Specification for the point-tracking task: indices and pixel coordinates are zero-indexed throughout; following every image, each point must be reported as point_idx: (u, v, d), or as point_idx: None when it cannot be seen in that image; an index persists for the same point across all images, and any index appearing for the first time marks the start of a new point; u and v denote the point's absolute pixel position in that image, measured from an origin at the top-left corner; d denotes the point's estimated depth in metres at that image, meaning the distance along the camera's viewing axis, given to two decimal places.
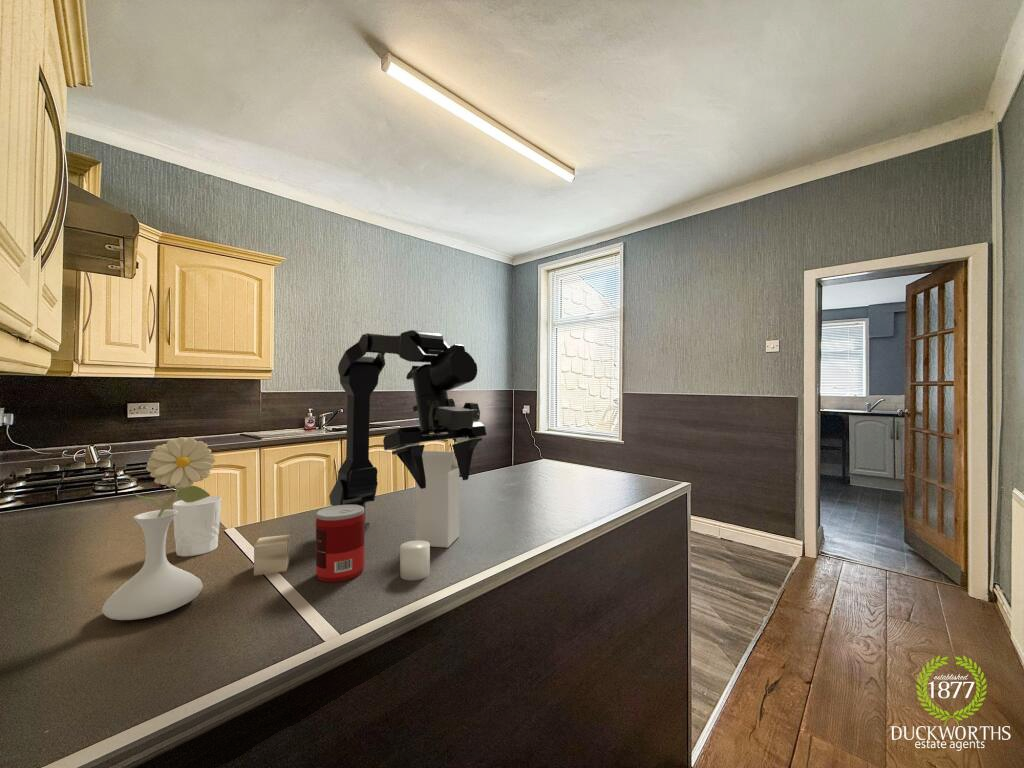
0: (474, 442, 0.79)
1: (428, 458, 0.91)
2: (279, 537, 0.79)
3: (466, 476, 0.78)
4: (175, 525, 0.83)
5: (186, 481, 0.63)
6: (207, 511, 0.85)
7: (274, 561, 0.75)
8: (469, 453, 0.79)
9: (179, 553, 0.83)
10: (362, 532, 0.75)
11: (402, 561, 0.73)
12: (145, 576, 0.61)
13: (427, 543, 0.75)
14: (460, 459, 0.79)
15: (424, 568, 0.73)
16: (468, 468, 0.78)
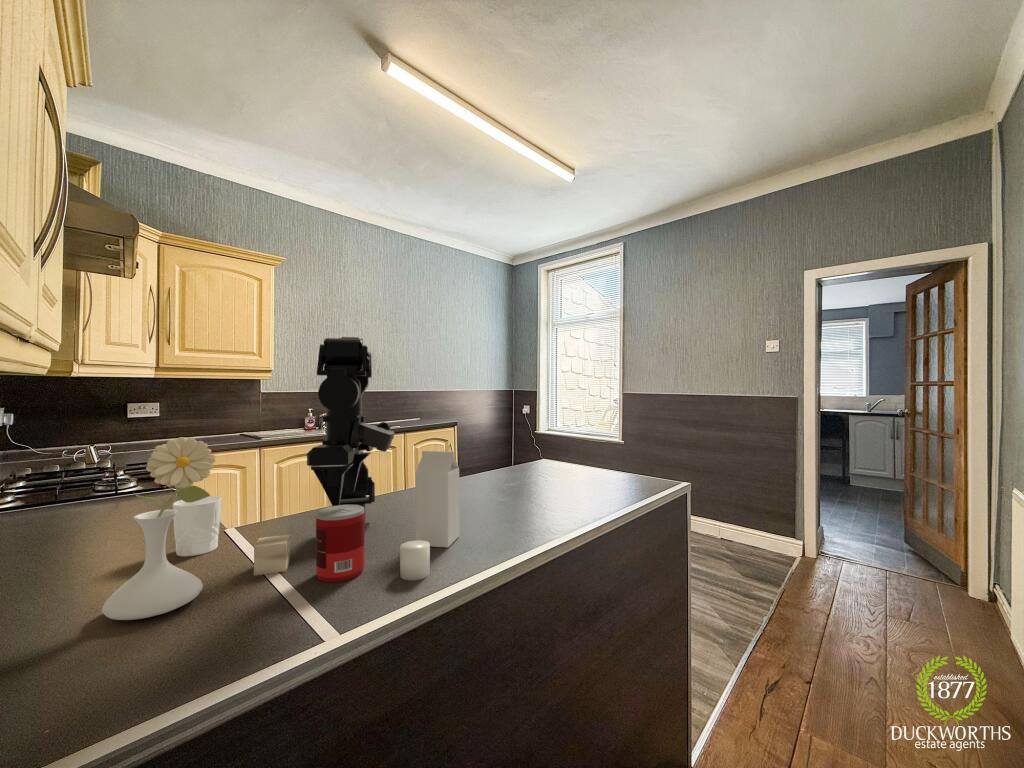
0: None
1: (428, 458, 0.91)
2: (279, 537, 0.79)
3: (353, 489, 0.80)
4: (175, 525, 0.83)
5: (186, 481, 0.63)
6: (207, 511, 0.85)
7: (274, 561, 0.75)
8: (359, 466, 0.81)
9: (179, 553, 0.83)
10: (362, 532, 0.75)
11: (402, 561, 0.73)
12: (145, 576, 0.61)
13: (427, 543, 0.75)
14: (347, 471, 0.80)
15: (424, 568, 0.73)
16: (356, 481, 0.80)
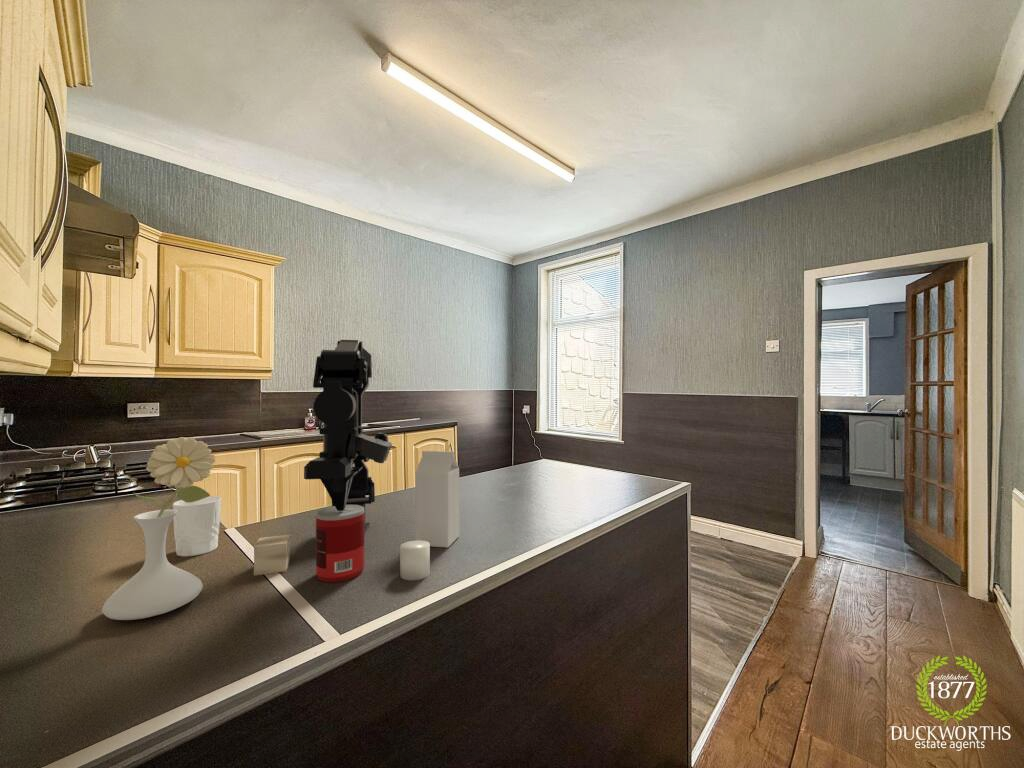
0: (358, 471, 0.77)
1: (428, 458, 0.91)
2: (279, 537, 0.79)
3: (344, 506, 0.75)
4: (175, 525, 0.83)
5: (186, 481, 0.63)
6: (207, 511, 0.85)
7: (274, 561, 0.75)
8: (350, 482, 0.76)
9: (179, 553, 0.83)
10: (362, 532, 0.75)
11: (402, 561, 0.73)
12: (145, 576, 0.61)
13: (427, 543, 0.75)
14: None
15: (424, 568, 0.73)
16: (347, 498, 0.76)
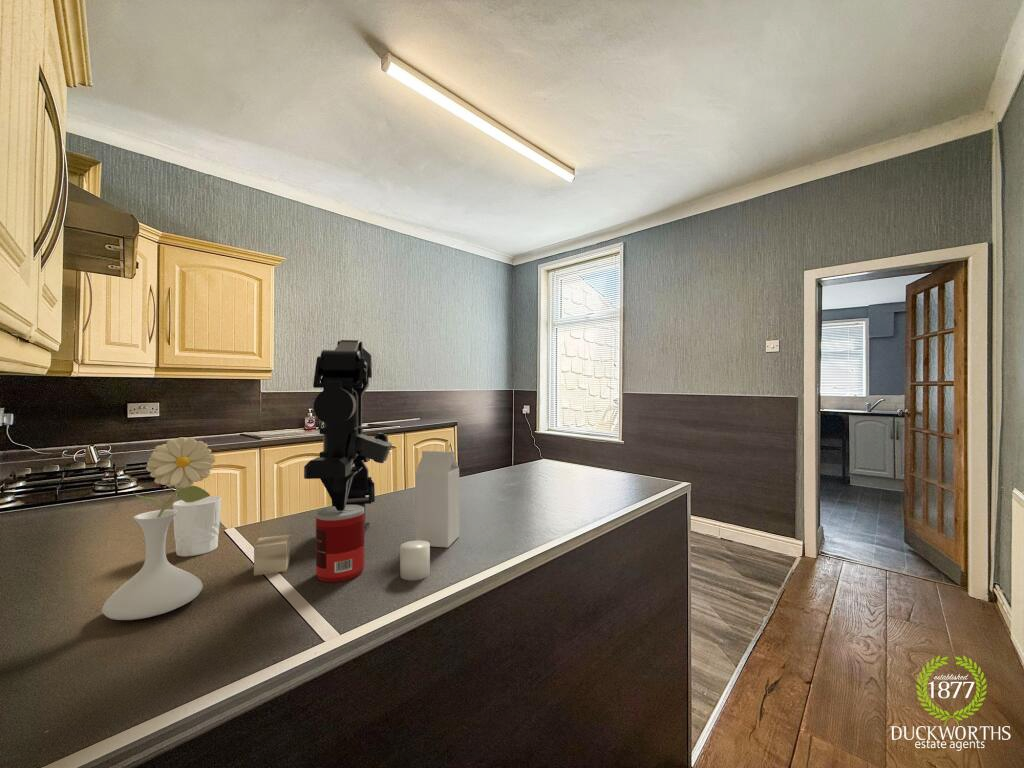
0: (358, 471, 0.77)
1: (428, 458, 0.91)
2: (279, 537, 0.79)
3: (344, 506, 0.75)
4: (175, 525, 0.83)
5: (186, 481, 0.63)
6: (207, 511, 0.85)
7: (274, 561, 0.75)
8: (350, 482, 0.76)
9: (179, 553, 0.83)
10: (362, 532, 0.75)
11: (402, 561, 0.73)
12: (145, 576, 0.61)
13: (427, 543, 0.75)
14: None
15: (424, 568, 0.73)
16: (347, 498, 0.76)
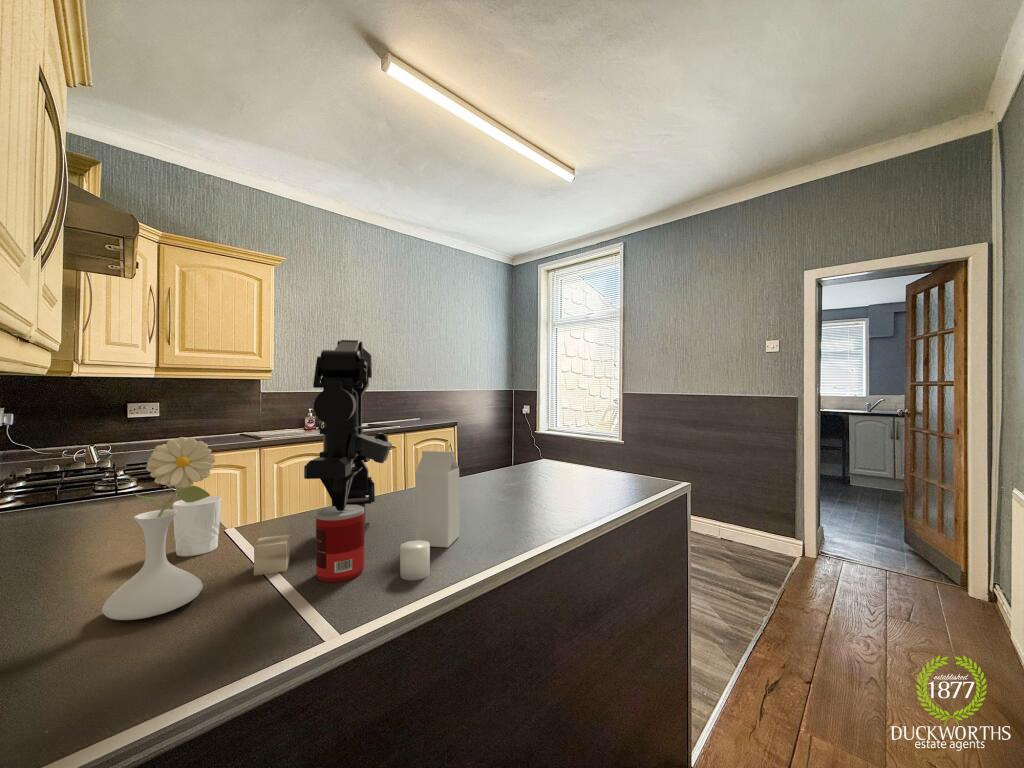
0: (358, 471, 0.77)
1: (428, 458, 0.91)
2: (279, 537, 0.79)
3: (344, 506, 0.75)
4: (175, 525, 0.83)
5: (186, 481, 0.63)
6: (207, 511, 0.85)
7: (274, 561, 0.75)
8: (350, 482, 0.76)
9: (179, 553, 0.83)
10: (362, 532, 0.75)
11: (402, 561, 0.73)
12: (145, 576, 0.61)
13: (427, 543, 0.75)
14: None
15: (424, 568, 0.73)
16: (347, 498, 0.76)
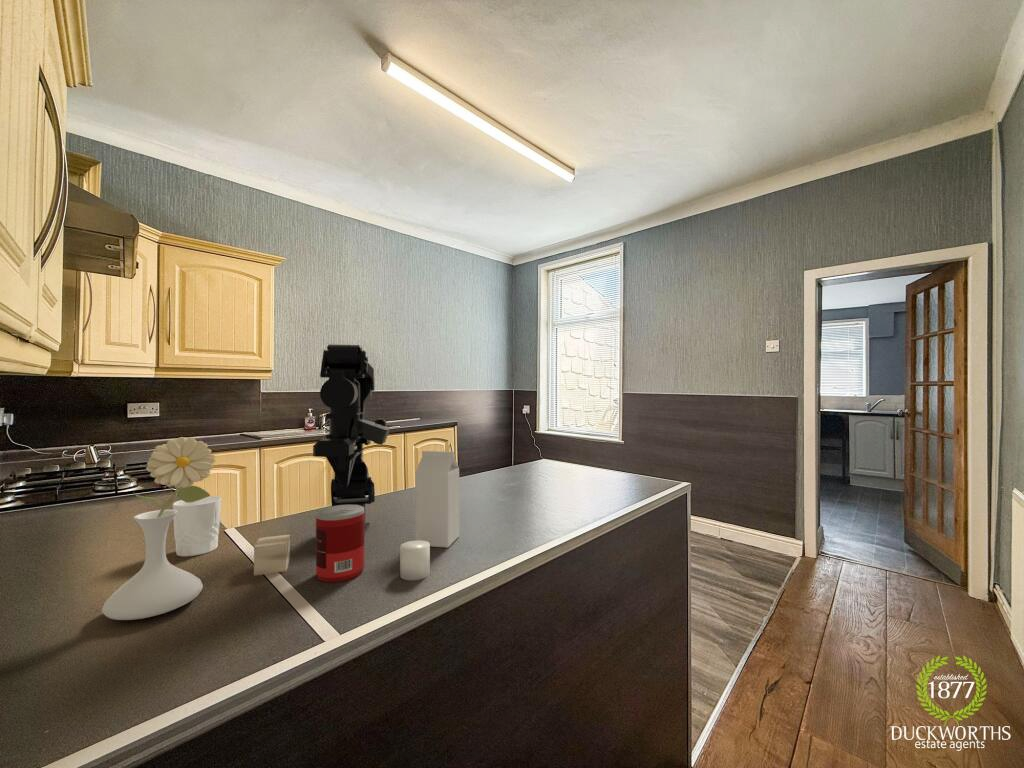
0: (360, 452, 0.87)
1: (428, 458, 0.91)
2: (279, 537, 0.79)
3: (347, 483, 0.85)
4: (175, 525, 0.83)
5: (186, 481, 0.63)
6: (207, 511, 0.85)
7: (274, 561, 0.75)
8: (353, 462, 0.86)
9: (179, 553, 0.83)
10: (362, 532, 0.75)
11: (402, 561, 0.73)
12: (145, 576, 0.61)
13: (427, 543, 0.75)
14: None
15: (424, 568, 0.73)
16: (350, 475, 0.86)
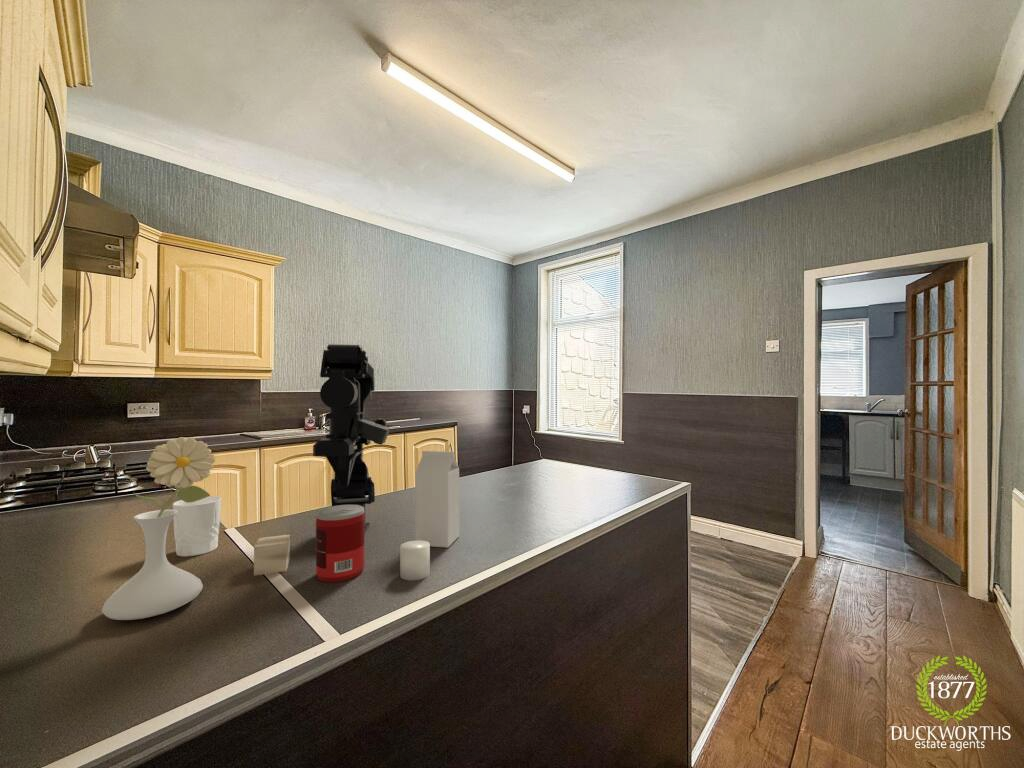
0: (360, 452, 0.87)
1: (428, 458, 0.91)
2: (279, 537, 0.79)
3: (347, 483, 0.85)
4: (175, 525, 0.83)
5: (186, 481, 0.63)
6: (207, 511, 0.85)
7: (274, 561, 0.75)
8: (353, 462, 0.86)
9: (179, 553, 0.83)
10: (362, 532, 0.75)
11: (402, 561, 0.73)
12: (145, 576, 0.61)
13: (427, 543, 0.75)
14: None
15: (424, 568, 0.73)
16: (350, 475, 0.86)
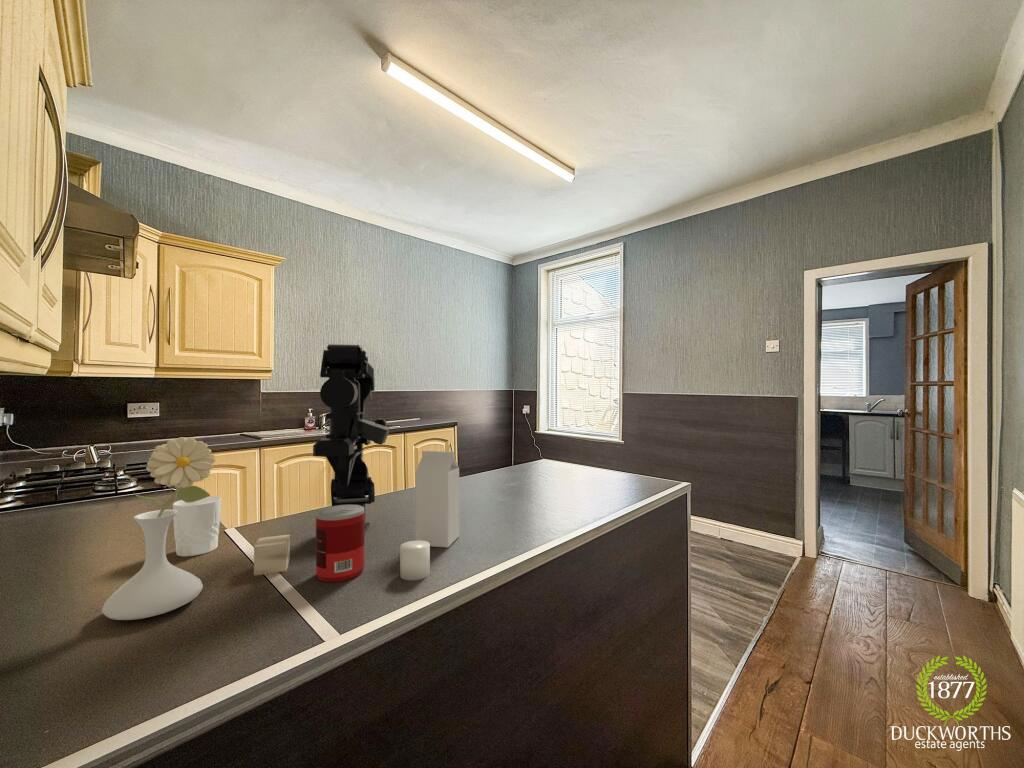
0: (360, 452, 0.87)
1: (428, 458, 0.91)
2: (279, 537, 0.79)
3: (347, 483, 0.85)
4: (175, 525, 0.83)
5: (186, 481, 0.63)
6: (207, 511, 0.85)
7: (274, 561, 0.75)
8: (353, 462, 0.86)
9: (179, 553, 0.83)
10: (362, 532, 0.75)
11: (402, 561, 0.73)
12: (145, 576, 0.61)
13: (427, 543, 0.75)
14: None
15: (424, 568, 0.73)
16: (350, 475, 0.86)
